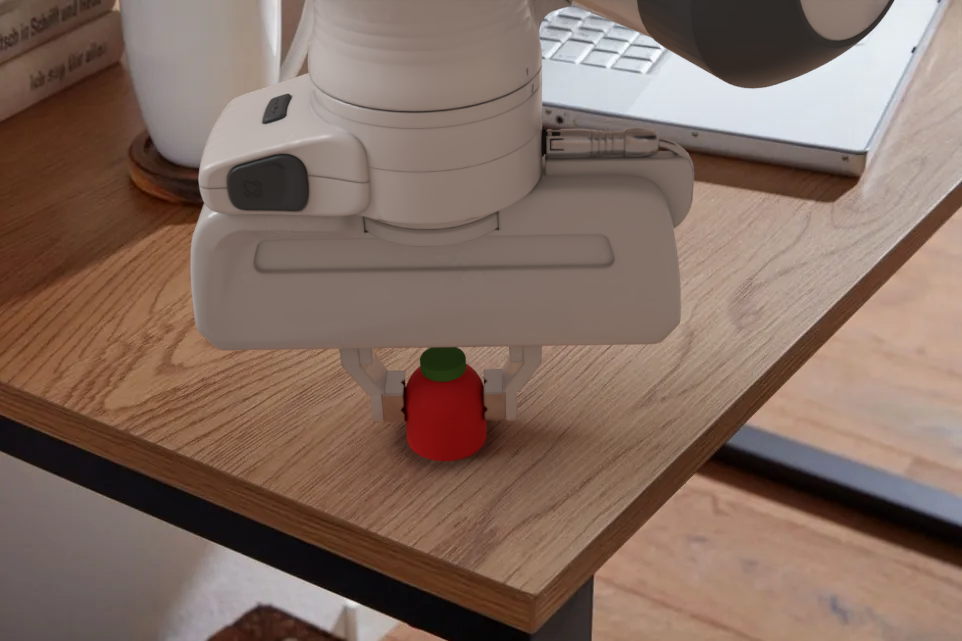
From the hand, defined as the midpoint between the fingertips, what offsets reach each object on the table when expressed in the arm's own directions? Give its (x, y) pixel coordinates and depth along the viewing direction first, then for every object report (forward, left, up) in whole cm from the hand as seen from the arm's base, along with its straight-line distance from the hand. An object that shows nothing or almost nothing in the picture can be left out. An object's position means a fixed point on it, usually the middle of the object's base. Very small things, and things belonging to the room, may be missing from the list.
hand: (445, 413), depth 60 cm
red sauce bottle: (0, 0, -2) cm, 2 cm away
